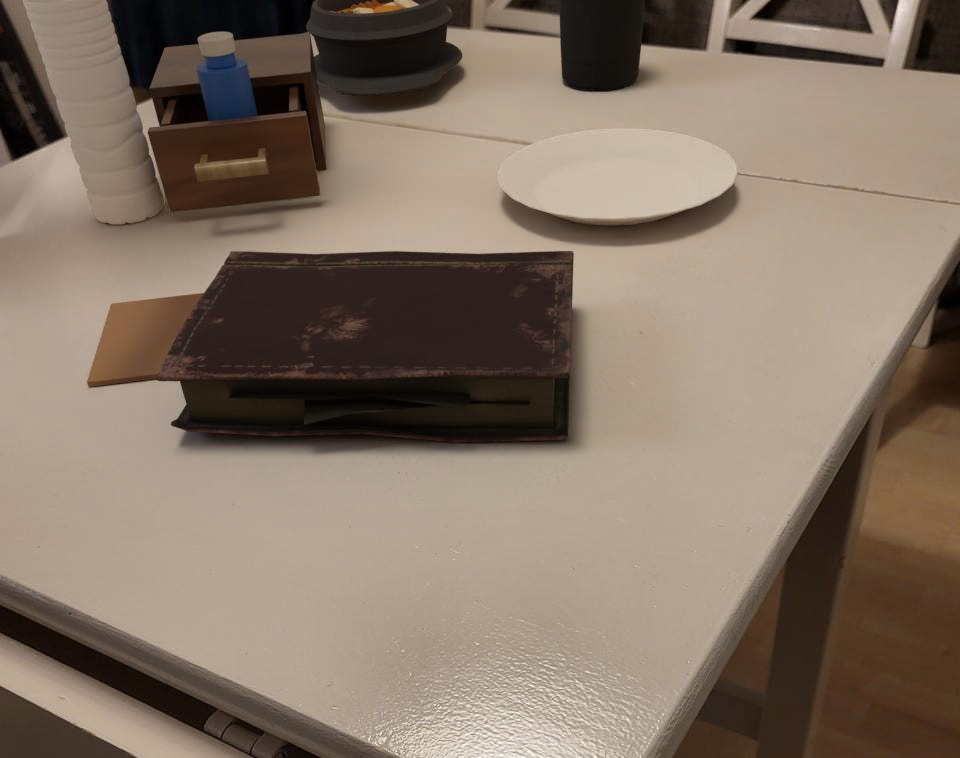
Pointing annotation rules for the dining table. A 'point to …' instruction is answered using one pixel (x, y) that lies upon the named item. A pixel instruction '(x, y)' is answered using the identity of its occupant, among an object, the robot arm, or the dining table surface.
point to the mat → (138, 338)
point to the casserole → (381, 45)
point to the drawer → (235, 152)
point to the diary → (380, 346)
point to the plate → (617, 175)
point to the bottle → (224, 79)
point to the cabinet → (267, 67)
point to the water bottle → (97, 107)
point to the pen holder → (600, 42)
